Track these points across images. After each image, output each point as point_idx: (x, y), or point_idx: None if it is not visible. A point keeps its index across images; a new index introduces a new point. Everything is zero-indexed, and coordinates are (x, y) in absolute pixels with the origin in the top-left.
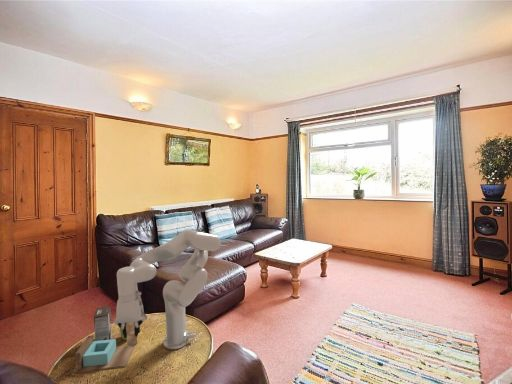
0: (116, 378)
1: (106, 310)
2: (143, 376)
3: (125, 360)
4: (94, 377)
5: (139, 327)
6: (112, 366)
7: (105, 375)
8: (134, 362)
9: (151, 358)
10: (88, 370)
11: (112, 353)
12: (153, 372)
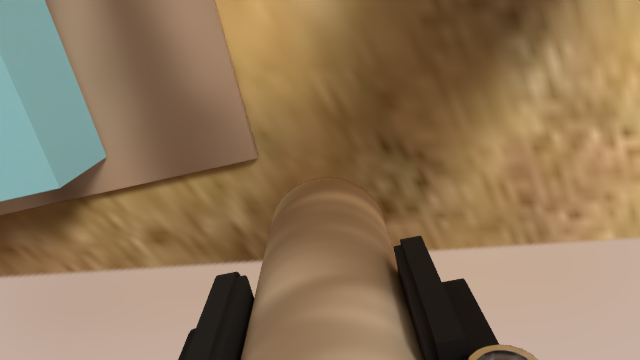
0: (261, 253)
1: None
2: (437, 227)
3: (222, 104)
4: (104, 255)
5: (491, 341)
6: (161, 173)
7: (166, 236)
8: (303, 105)
9: (425, 51)
10: (7, 212)
11: (57, 58)
12: (495, 191)
